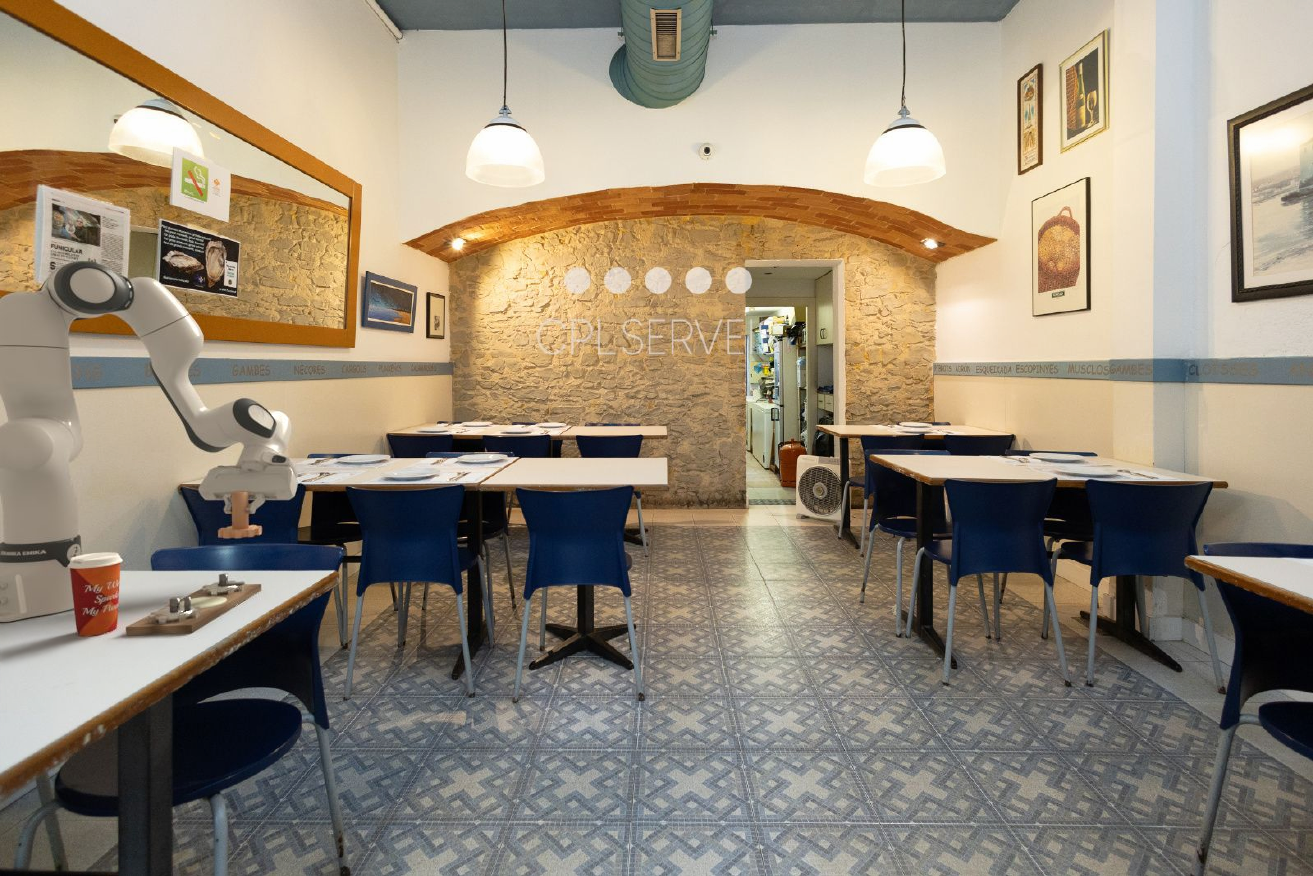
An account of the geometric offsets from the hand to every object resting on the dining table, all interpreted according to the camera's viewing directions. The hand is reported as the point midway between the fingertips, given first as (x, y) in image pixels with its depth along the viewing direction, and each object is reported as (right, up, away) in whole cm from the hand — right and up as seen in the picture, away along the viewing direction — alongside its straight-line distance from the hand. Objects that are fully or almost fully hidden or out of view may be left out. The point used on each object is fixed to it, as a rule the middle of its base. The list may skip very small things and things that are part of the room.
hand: (238, 512), depth 150 cm
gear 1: (+5, -17, -26) cm, 32 cm away
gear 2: (+2, -16, -9) cm, 18 cm away
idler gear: (0, -5, +1) cm, 5 cm away
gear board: (+4, -18, -17) cm, 25 cm away
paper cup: (-7, -19, -30) cm, 36 cm away
